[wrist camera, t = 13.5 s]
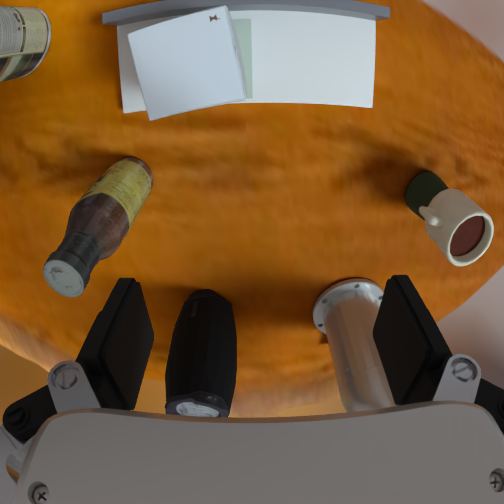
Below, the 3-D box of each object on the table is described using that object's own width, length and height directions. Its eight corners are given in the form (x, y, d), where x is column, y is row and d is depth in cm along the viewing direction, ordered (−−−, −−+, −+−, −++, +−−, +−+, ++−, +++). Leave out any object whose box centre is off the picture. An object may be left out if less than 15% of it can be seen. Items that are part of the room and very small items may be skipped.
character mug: (381, 203, 41) (423, 258, 30) (400, 156, 37) (452, 199, 27) (439, 220, 43) (484, 272, 32) (458, 179, 39) (511, 224, 28)
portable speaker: (235, 327, 54) (233, 432, 38) (180, 322, 53) (162, 426, 37) (239, 288, 49) (237, 403, 33) (178, 284, 48) (153, 395, 32)
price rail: (375, 20, 26) (390, 17, 23) (116, 26, 26) (102, 23, 23) (375, 9, 25) (389, 5, 22) (116, 15, 25) (102, 11, 22)
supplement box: (165, 38, 27) (124, 30, 17) (235, 22, 27) (229, 2, 16) (179, 100, 32) (146, 123, 21) (247, 86, 31) (248, 100, 20)
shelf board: (366, 105, 34) (372, 108, 32) (129, 110, 34) (123, 113, 32) (369, 11, 27) (376, 9, 25) (122, 16, 27) (115, 15, 25)
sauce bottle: (117, 148, 36) (31, 229, 20) (161, 165, 38) (101, 258, 21) (105, 192, 40) (30, 289, 23) (146, 208, 41) (91, 315, 25)
